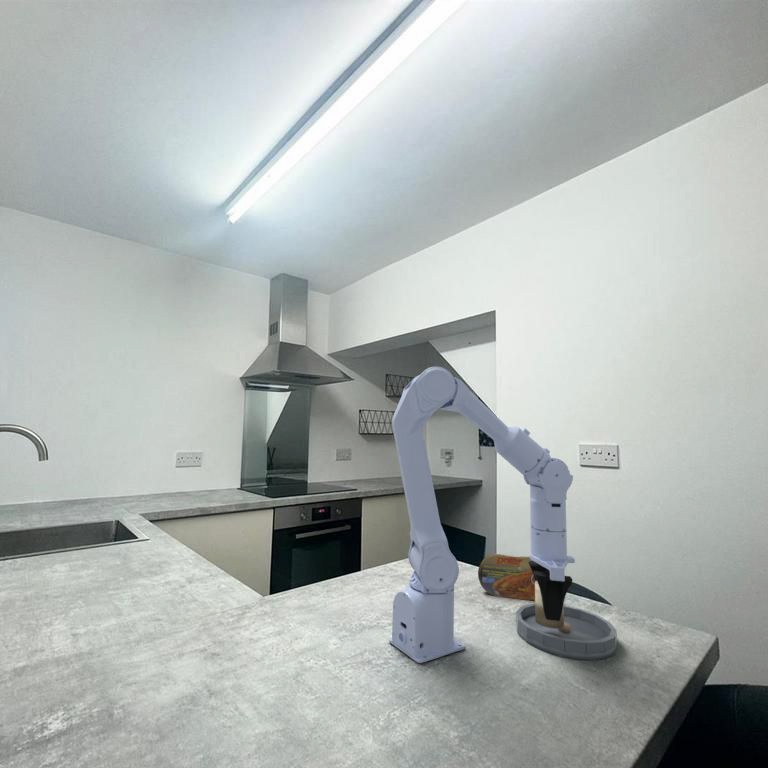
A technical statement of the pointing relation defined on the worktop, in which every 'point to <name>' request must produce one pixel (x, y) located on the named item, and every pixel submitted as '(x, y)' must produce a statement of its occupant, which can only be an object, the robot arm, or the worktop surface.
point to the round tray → (569, 634)
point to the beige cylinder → (540, 612)
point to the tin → (507, 576)
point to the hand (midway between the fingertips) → (549, 613)
